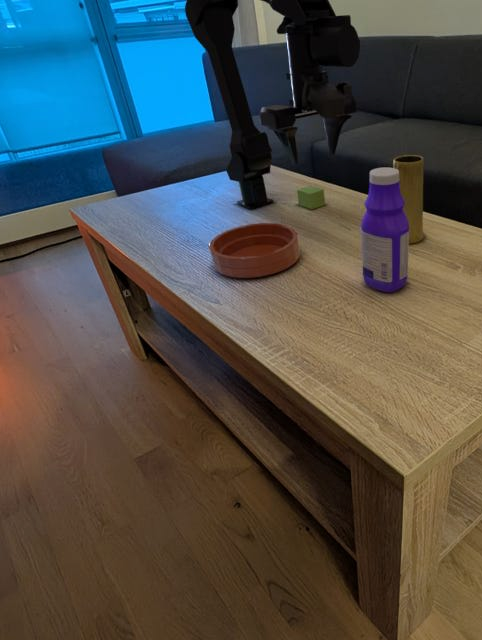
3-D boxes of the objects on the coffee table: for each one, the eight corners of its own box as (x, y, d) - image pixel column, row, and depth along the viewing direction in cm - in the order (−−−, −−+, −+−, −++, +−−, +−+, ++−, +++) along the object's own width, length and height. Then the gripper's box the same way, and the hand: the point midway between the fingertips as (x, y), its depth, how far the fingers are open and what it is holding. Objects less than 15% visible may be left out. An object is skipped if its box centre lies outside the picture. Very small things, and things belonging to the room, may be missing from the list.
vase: (423, 231, 88) (425, 153, 79) (423, 244, 83) (427, 162, 74) (391, 231, 88) (391, 154, 80) (390, 244, 84) (390, 164, 75)
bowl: (199, 262, 83) (193, 241, 80) (269, 236, 90) (266, 217, 88) (242, 289, 73) (237, 267, 71) (317, 258, 81) (314, 237, 78)
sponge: (298, 204, 105) (296, 189, 102) (312, 200, 107) (310, 185, 104) (311, 209, 101) (310, 193, 99) (325, 204, 103) (323, 189, 101)
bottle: (414, 284, 71) (417, 169, 60) (392, 298, 68) (391, 180, 57) (379, 271, 75) (377, 162, 64) (356, 284, 72) (350, 172, 61)
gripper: (288, 74, 69) (299, 178, 79) (375, 61, 78) (376, 156, 88) (250, 70, 76) (266, 167, 86) (335, 59, 85) (340, 147, 95)
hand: (314, 159), depth 88 cm, fingers open, 9 cm apart
